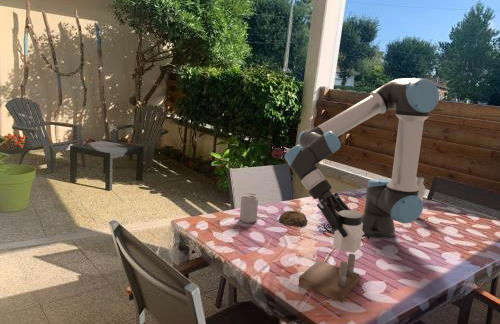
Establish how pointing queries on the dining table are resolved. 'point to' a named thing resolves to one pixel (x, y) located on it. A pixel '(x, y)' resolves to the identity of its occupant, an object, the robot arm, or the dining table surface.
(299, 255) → the dining table surface
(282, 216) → the bread roll
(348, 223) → the jar
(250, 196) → the can
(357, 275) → the peg stand
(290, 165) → the robot arm
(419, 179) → the pale carved statuette
